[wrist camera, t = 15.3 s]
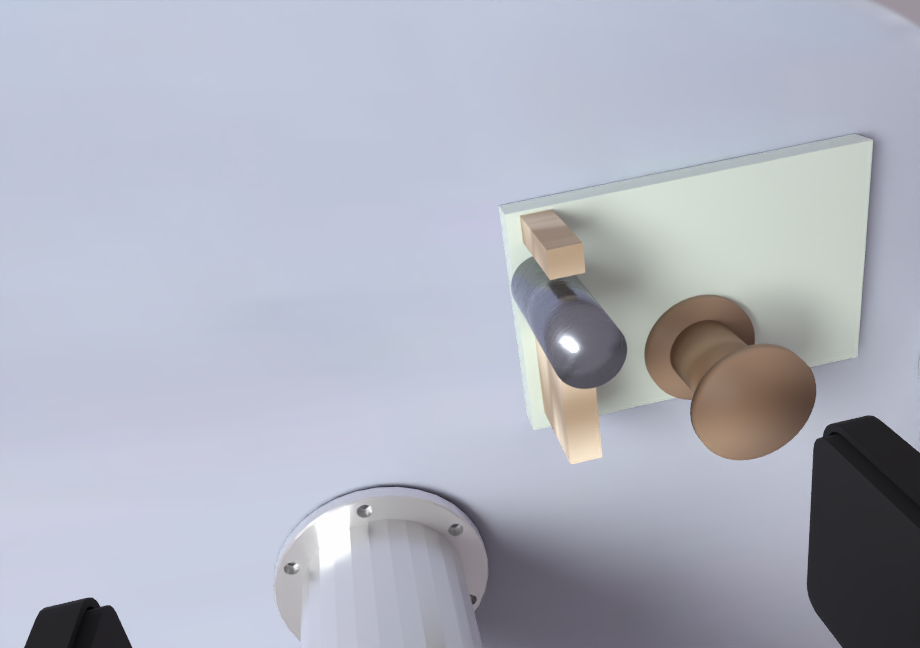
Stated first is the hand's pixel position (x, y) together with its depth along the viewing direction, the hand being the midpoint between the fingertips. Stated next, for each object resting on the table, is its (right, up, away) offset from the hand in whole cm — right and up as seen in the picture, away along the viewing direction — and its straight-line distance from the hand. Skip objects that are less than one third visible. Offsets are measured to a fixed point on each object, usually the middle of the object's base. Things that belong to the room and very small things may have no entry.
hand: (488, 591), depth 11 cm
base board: (+12, +6, +33) cm, 36 cm away
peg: (+4, +5, +30) cm, 31 cm away
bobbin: (+12, +2, +33) cm, 36 cm away
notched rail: (+4, +4, +31) cm, 32 cm away
